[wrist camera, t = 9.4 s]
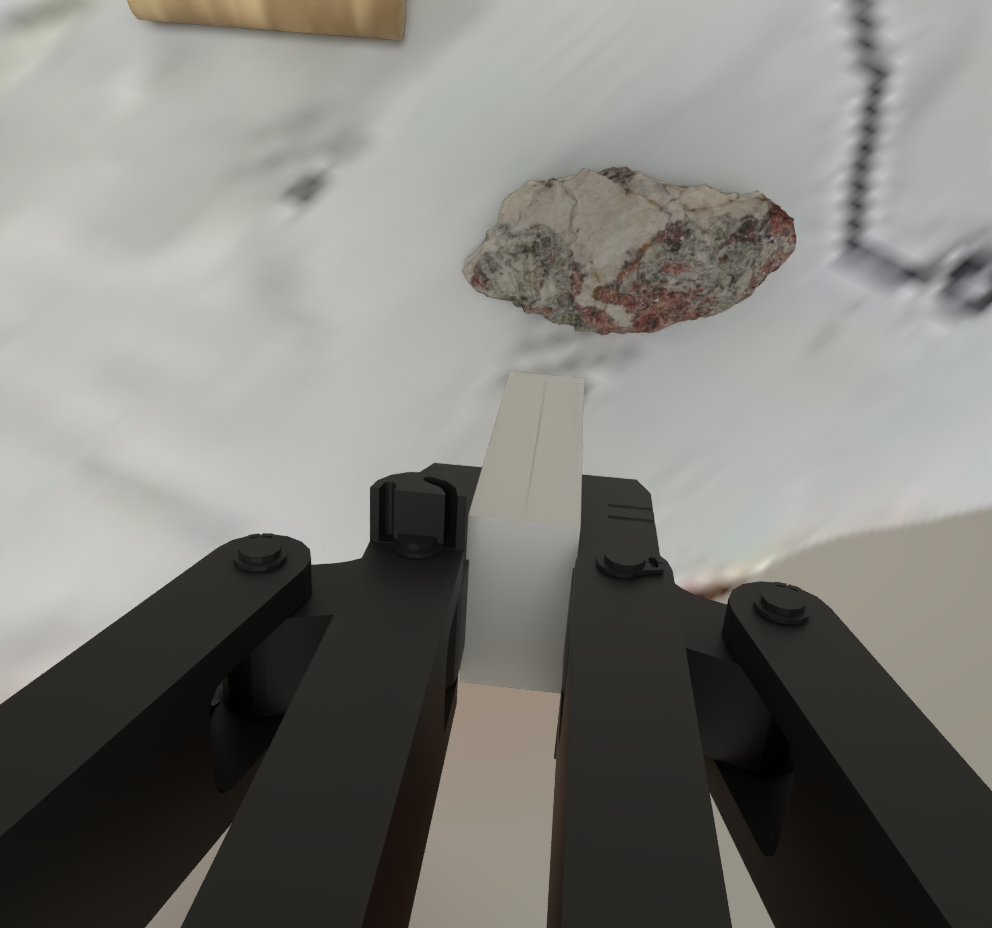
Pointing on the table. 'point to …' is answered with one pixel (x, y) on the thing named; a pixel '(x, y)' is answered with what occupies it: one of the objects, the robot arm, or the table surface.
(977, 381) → the table surface
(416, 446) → the table surface
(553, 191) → the mineral rock
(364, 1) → the roller bed
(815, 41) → the table surface
